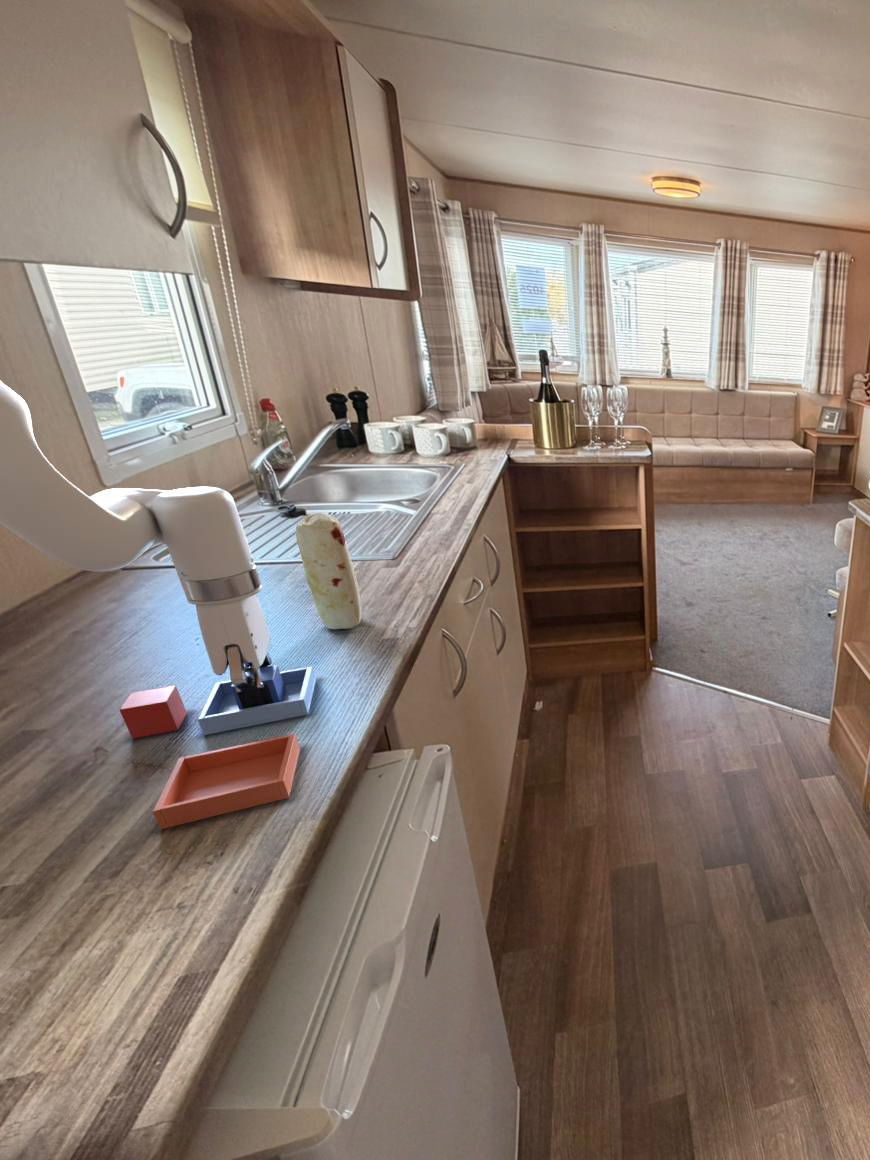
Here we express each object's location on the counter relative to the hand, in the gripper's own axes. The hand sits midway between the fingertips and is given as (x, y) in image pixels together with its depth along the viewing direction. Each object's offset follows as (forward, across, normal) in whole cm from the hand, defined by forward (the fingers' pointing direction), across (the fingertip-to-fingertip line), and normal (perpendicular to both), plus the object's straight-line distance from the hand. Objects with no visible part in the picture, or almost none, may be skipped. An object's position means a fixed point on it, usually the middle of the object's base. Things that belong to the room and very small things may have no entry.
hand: (263, 700), depth 90 cm
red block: (+1, 0, -11) cm, 11 cm away
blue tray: (+1, 0, 0) cm, 1 cm away
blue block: (0, 0, 0) cm, 0 cm away
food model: (+1, -26, +8) cm, 27 cm away
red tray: (+1, +19, 0) cm, 19 cm away
